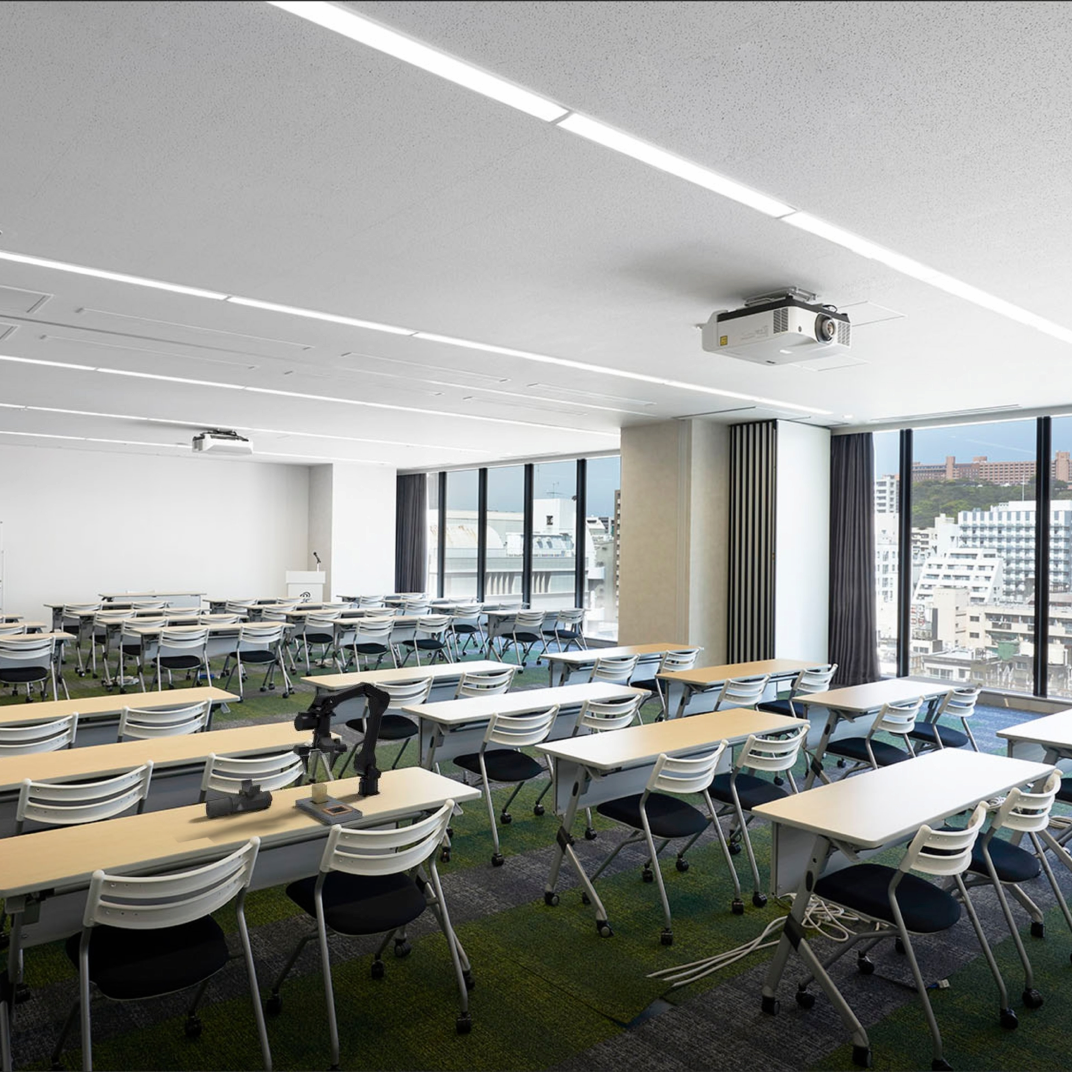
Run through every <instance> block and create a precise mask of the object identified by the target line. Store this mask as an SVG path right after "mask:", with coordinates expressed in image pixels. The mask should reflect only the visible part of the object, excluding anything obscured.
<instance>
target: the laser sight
mask: <svg viewBox="0 0 1072 1072" xmlns="http://www.w3.org/2000/svg"><path fill="white" fill-rule="evenodd" d="M240 783H241V788H240V789H238V794H233V795H229V796H228V797H224V798H221V799H219V798H218V799H215V800H209V801H208V800H207V801H206V803H205V813H206V817H207V818H208V819H211V818H215V817H220V816H226V815H231V816H233V815H238V814H239V815H240V814H244V813H249V812H254V811H259V810H260V811H261V810H264V809H265V808H270V807H271V806H272V802H273V795H272V794H271V791H270V790H264V791H262V790H261V785H262V784H256V785H253V779H252V778H247V779H243V780H241V781H240Z"/></svg>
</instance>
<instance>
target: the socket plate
mask: <svg viewBox="0 0 1072 1072" xmlns="http://www.w3.org/2000/svg"><path fill="white" fill-rule="evenodd" d="M294 805H295V807H297V808H299V809H300V810H303V811H304V812H307V813H308V814H310V815H312V816H314V817H316V818H318V819H319V820H321V821H323V822H324V823H326V824H328V825H330V826H332V825H333V826H334V825H336V824H335V823H338V824H341V823H346V822H350V821H354V820H359V819H363V818H364V817H363V814H364V812H363V811H361V810H359V809H357V808H356V807H353V806H351V805H349V804H347V803H345V802H343V801H341V800H339V799H337V798H335V797H333V796H331V795H329V794H327V802H326V803H321V804H316V805H315V804H314V803H312V796H309V797H304V798H298V799H295V804H294Z"/></svg>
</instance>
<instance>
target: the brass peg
mask: <svg viewBox="0 0 1072 1072" xmlns="http://www.w3.org/2000/svg"><path fill="white" fill-rule="evenodd" d="M327 795H328V784H325V783H323V782H319V783H313V784H312V785H311V797H312V803H314V804H315V805H316V804H321V803H326V802H327Z"/></svg>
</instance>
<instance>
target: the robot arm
mask: <svg viewBox="0 0 1072 1072" xmlns="http://www.w3.org/2000/svg"><path fill="white" fill-rule="evenodd" d="M360 696H364V697H365V698H366V699H368V700H367V705H368V710H369V715H368V719H367V724H366V728H365V734H364V739H363V742H362V748H361V750H360V752H359V753H355V754H354V758H353V761H352V765H353V770H354V771H355V773H356V775H357V776H356V777H359V782H358V791H357V794H359V795H361V796H363V797H369V796H370V797H371V796H375V795H379V794H381V792H380V791H379V779H381V778H382V777H381V776H382V773H383V772H382V771H381V770H380V769H379V768H378V767H377V758H376V757H377V756H376V753H375V752H376V746H377V742H378V737H379V734H380V733H379V732H380V728H381V722H382V717H383V715H384V713H385V712H386V711H387V709H388V708H389V705H390V704H391V703H390V702H391V697H392V696H391V695H390V693H389V692H388V691H385V690H382V689H380V688H377V687H376V686H374V685H373V684H371V683H370V682H366V681H360V682H359V683H357V684H354V685H351V686H349V687H348V686H347V687H346V688H342V689H341V690H337V691H331V692H323V693H318V694H316V695H315V696H314V699H313V701H312V702H311V704H310V705H309V707H308V708H307V710H306V711H298V714H297V715H296V716H295V718H294V721H293V726H294V730H295V731H297V732H303V731H306V732H307V731H312V735H313V737H312V738H313V739H312V742H311V744H310V745H307V744H304V743H302V744H295V745H294V746H293V749H292V750H293V751H292V753H293V754H296V756H297V757H299V758H300V761H301V763H302V765H303V766H302V767H303V769H304V772H305V774H306V775H307V774H308V773H309V759H310V757H311V755H309V753H310V752H311V753H313V752H321V753H322V754H328V753H329V764H328V765H329V766H328V769H329V772H330V773H331V772H333V770H334V767H335V765H336V762H338V761H337V760H338V759H339V758H340V757H341V755H342V756H343V755H344V753H348V745H347V744H346V743H344V742H341V740H342V739H340V738H339V737H337V738H336V737H335V738H332V732H330V731H331V723H332V722H331V721H332V717H337V714H336V713H335V712H334V709H335V708H337V707H338V706H340V704H341V703H344V702H346V701H349V700H352V699H355V698H357V697H360Z"/></svg>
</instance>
